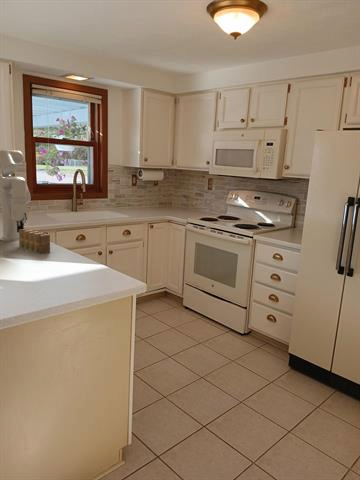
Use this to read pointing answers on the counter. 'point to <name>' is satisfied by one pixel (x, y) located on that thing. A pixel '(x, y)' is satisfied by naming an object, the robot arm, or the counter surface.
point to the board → (32, 250)
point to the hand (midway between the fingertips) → (20, 232)
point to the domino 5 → (44, 243)
